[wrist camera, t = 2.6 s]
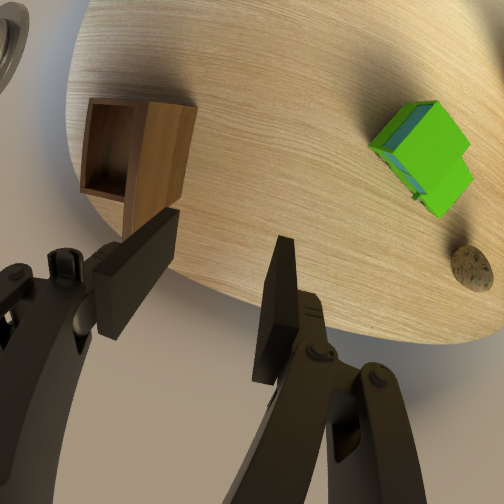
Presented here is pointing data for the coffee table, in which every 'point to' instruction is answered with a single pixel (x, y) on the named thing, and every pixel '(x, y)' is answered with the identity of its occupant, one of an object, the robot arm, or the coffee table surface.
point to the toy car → (426, 154)
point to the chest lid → (149, 163)
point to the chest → (124, 149)
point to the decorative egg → (472, 268)
